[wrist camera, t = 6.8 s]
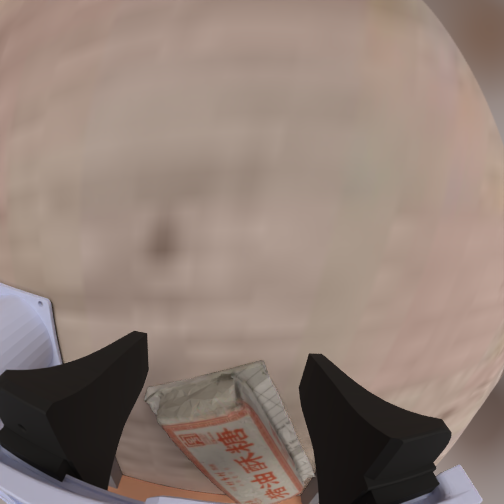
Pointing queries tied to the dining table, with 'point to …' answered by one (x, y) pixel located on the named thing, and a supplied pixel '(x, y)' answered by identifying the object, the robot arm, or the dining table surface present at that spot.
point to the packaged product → (235, 432)
